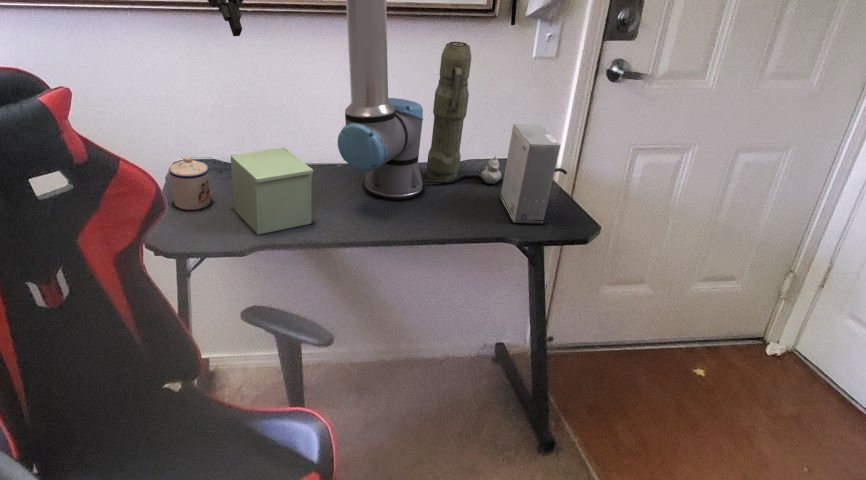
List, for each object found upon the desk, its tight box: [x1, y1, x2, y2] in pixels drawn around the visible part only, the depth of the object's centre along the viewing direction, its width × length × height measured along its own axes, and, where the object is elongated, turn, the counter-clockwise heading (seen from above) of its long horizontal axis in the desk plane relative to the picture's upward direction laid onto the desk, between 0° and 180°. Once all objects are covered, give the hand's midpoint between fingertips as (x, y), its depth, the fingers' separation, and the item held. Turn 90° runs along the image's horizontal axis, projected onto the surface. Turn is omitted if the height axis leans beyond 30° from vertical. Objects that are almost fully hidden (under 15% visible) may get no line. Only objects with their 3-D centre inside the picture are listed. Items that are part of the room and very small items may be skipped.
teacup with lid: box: [168, 155, 211, 211], centre depth 160 cm, size 12×9×12 cm
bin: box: [230, 158, 313, 235], centre depth 155 cm, size 15×14×13 cm
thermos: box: [426, 41, 472, 180], centre depth 175 cm, size 9×12×35 cm
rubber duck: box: [480, 155, 502, 185], centre depth 181 cm, size 5×7×8 cm
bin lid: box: [229, 147, 314, 183], centre depth 151 cm, size 15×14×1 cm
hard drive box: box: [499, 123, 562, 224], centre depth 163 cm, size 16×8×20 cm, turn 4°
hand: (237, 32), depth 148 cm, fingers closed
